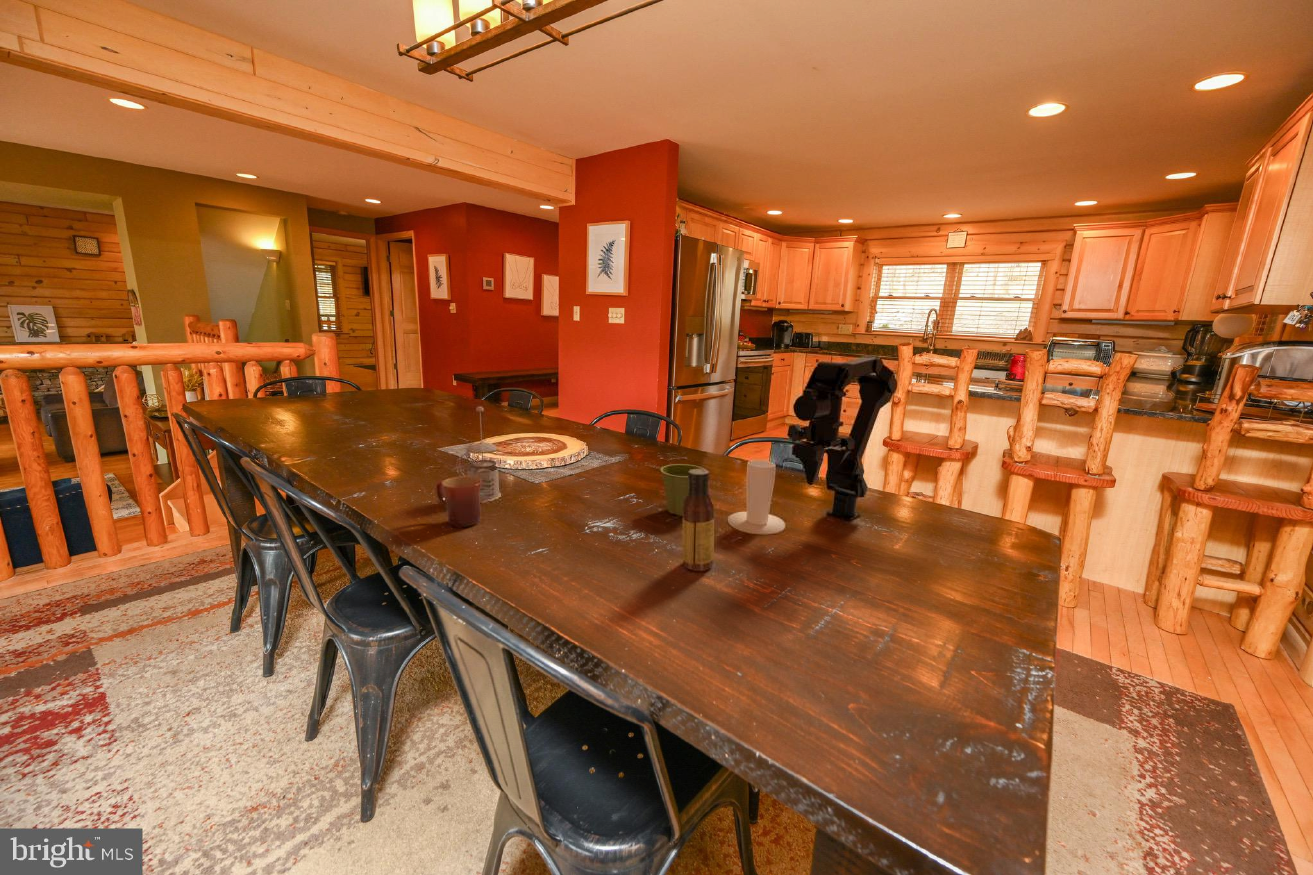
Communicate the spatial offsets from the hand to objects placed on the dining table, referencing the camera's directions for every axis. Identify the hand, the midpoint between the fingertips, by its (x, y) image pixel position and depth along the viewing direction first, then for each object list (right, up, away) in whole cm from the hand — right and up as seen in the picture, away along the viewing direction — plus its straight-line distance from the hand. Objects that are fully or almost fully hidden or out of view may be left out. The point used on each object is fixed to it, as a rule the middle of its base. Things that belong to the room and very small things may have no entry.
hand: (820, 480), depth 119 cm
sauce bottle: (-31, -16, -18) cm, 39 cm away
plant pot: (-33, -9, +11) cm, 35 cm away
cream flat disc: (-14, -11, +5) cm, 19 cm away
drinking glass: (-14, -11, +5) cm, 18 cm away
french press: (-87, -6, +16) cm, 88 cm away
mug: (-86, -10, 0) cm, 87 cm away
